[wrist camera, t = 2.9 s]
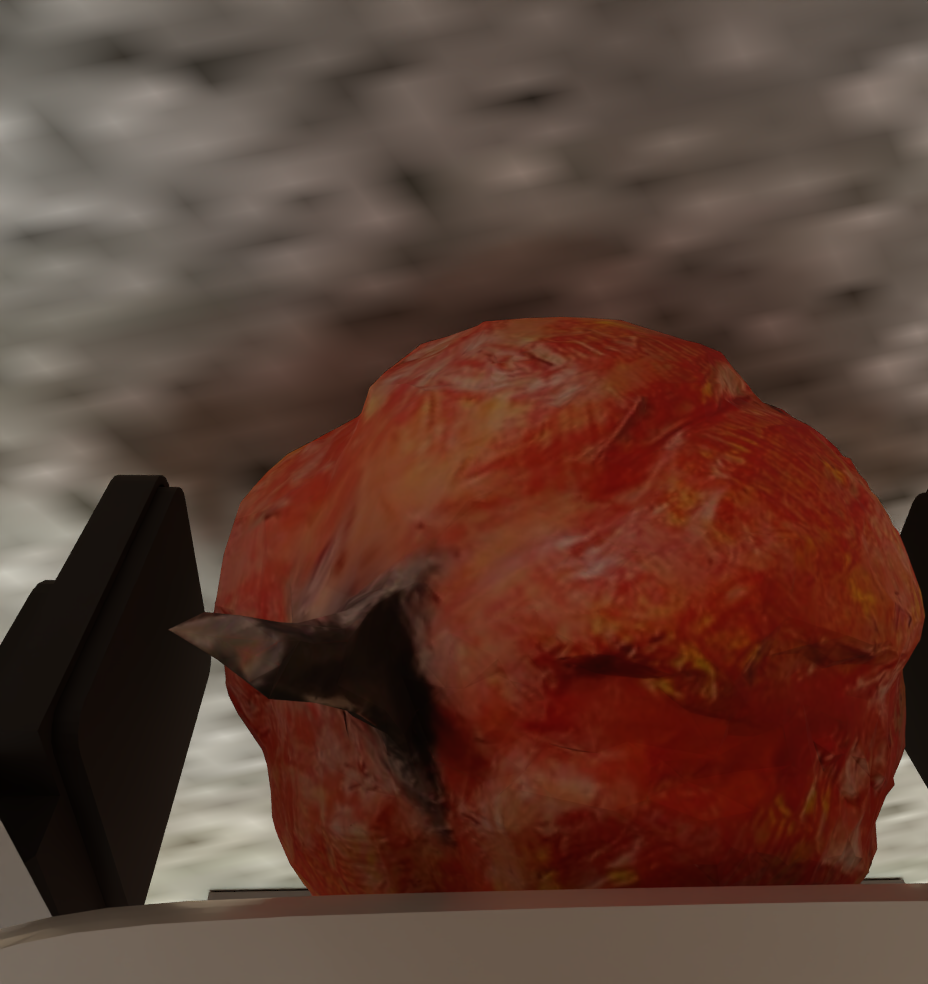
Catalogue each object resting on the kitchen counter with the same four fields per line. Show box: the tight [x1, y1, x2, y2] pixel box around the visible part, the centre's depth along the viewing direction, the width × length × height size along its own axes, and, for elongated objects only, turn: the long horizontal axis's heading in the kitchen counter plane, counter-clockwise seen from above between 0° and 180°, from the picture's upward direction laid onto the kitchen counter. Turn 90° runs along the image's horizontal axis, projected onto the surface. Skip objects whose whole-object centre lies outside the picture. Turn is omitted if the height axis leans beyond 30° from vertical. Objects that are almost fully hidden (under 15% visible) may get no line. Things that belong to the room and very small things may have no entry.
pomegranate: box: [168, 317, 925, 896], centre depth 10 cm, size 7×7×10 cm
